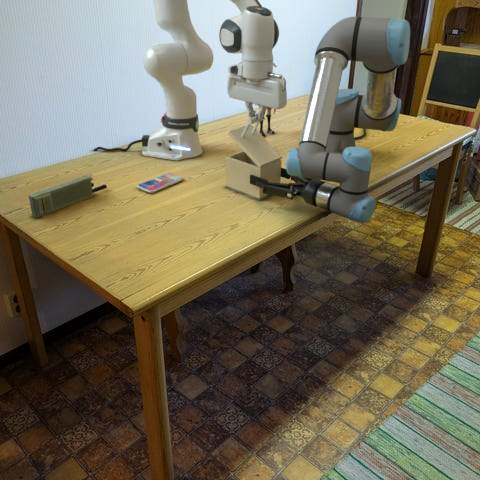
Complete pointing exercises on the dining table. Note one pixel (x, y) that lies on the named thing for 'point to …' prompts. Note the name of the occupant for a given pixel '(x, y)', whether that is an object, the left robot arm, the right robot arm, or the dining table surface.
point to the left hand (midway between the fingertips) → (255, 118)
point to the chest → (240, 171)
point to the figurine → (267, 119)
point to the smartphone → (159, 182)
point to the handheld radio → (62, 195)
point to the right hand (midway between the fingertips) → (262, 174)
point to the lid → (255, 144)
